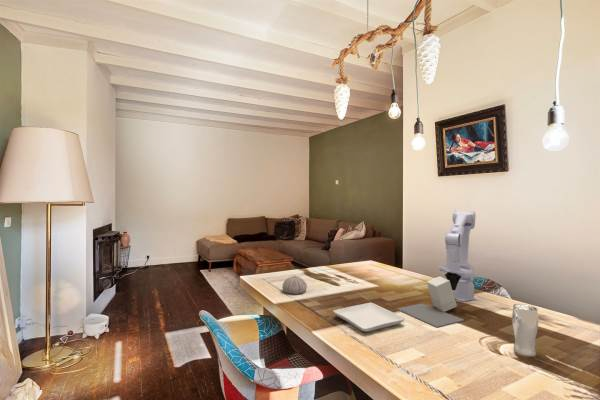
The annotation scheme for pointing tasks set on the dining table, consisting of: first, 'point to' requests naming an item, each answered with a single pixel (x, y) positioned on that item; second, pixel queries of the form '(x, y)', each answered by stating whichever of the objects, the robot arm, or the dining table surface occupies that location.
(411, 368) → the dining table surface
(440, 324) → the mat
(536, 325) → the beer glass
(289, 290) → the sea urchin shell
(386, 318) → the salad plate
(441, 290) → the supplement box
